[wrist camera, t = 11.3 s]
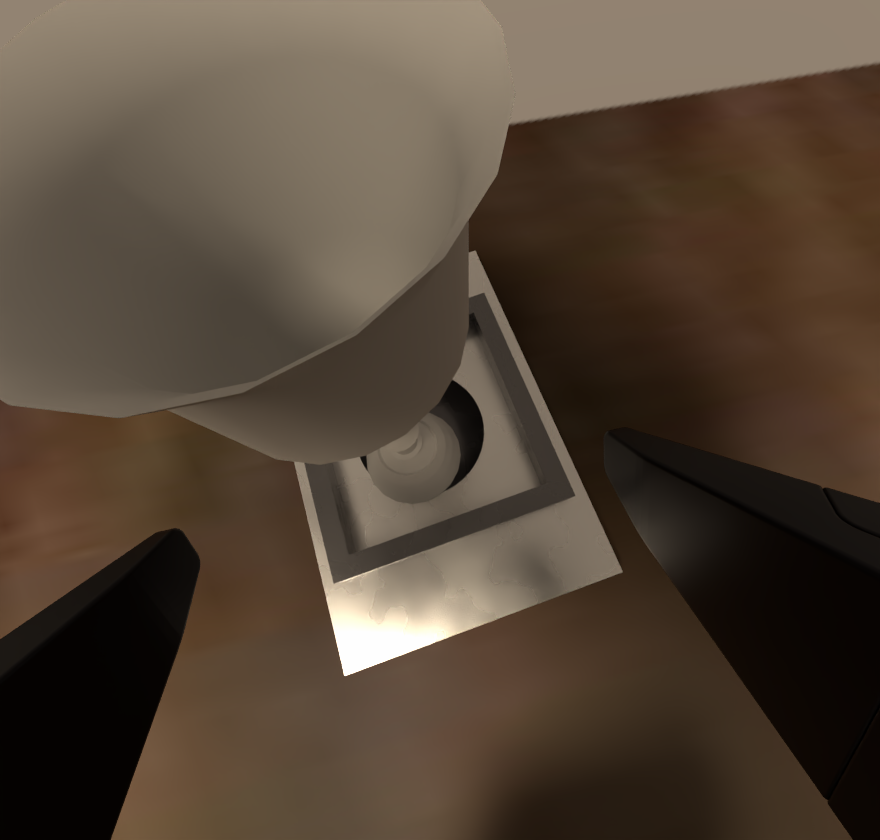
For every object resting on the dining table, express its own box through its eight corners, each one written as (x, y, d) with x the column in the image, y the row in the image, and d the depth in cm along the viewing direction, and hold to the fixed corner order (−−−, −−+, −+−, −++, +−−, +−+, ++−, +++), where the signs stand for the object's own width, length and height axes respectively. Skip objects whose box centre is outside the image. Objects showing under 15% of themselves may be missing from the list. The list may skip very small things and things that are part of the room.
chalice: (406, 370, 23) (228, -123, 6) (505, 438, 22) (640, 29, 5) (321, 472, 22) (-219, 203, 5) (421, 553, 20) (157, 591, 3)
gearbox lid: (617, 571, 20) (635, 574, 18) (349, 670, 20) (334, 686, 18) (475, 259, 26) (475, 233, 24) (267, 329, 26) (248, 309, 24)
